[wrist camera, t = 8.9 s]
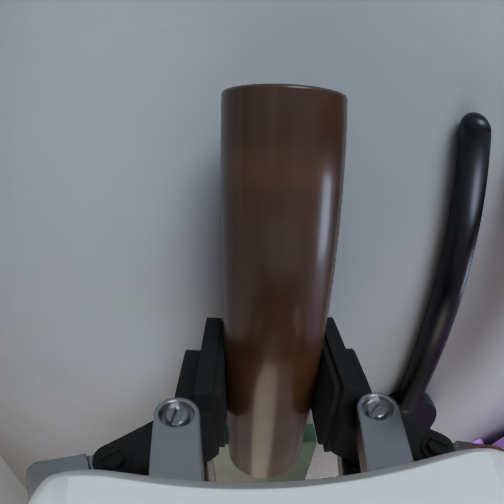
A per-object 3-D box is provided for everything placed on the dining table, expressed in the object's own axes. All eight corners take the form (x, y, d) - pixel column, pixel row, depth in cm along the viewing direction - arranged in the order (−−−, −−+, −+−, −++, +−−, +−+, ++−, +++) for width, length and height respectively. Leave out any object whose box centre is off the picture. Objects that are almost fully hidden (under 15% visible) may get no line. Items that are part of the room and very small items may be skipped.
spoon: (411, 98, 10) (430, 96, 9) (507, 126, 10) (527, 129, 9) (338, 451, 17) (342, 468, 16) (413, 438, 17) (419, 452, 16)
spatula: (195, 98, 9) (173, 84, 6) (356, 105, 9) (401, 98, 6) (218, 478, 16) (216, 520, 13) (298, 476, 16) (304, 518, 13)
